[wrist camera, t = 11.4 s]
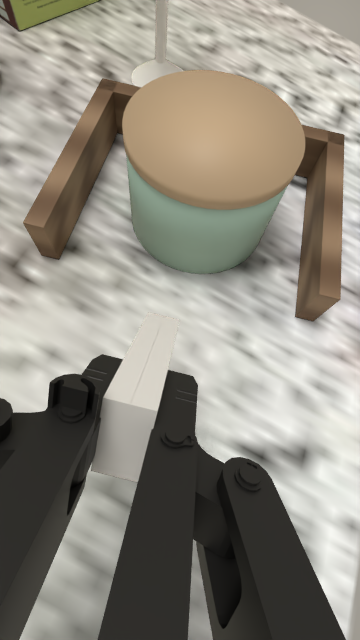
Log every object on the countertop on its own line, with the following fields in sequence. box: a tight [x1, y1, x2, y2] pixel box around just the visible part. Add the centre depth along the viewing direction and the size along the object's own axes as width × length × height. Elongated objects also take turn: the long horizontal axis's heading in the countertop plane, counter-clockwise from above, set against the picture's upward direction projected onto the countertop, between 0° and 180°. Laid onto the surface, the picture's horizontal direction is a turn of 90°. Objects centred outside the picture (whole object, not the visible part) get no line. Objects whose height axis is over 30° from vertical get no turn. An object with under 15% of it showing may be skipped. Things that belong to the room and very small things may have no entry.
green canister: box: [122, 70, 305, 274], centre depth 25 cm, size 12×12×9 cm
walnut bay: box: [23, 78, 344, 321], centre depth 27 cm, size 18×23×4 cm
